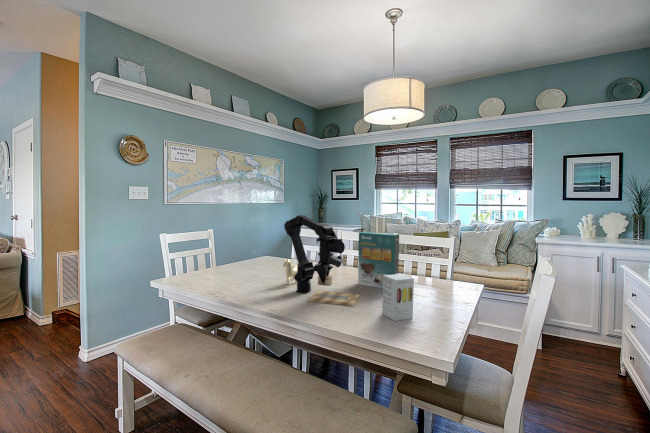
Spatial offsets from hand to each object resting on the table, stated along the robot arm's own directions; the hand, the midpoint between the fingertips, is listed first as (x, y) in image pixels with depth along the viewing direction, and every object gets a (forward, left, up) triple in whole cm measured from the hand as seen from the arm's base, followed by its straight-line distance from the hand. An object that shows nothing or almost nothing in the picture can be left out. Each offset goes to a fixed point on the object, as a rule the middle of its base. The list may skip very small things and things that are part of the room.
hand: (324, 282), depth 152 cm
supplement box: (+36, -13, -8) cm, 39 cm away
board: (+5, 0, -8) cm, 9 cm away
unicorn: (-25, +18, -8) cm, 32 cm away
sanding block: (0, 0, -1) cm, 1 cm away
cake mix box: (+22, +31, -8) cm, 39 cm away
